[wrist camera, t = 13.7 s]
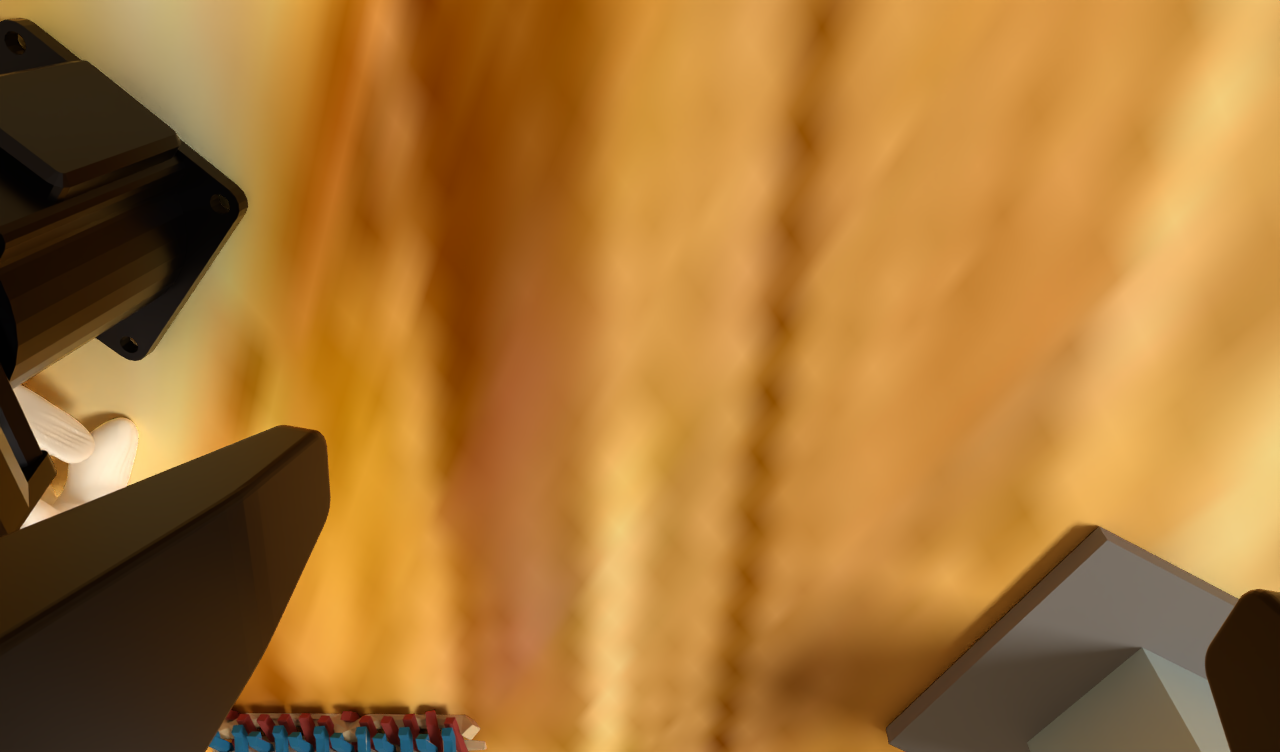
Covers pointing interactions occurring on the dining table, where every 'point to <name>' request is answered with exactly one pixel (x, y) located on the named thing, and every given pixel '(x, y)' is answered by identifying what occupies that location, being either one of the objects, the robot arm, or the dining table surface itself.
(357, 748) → the woven mat
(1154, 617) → the felt pad
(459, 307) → the dining table surface
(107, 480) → the animal skull
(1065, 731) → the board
